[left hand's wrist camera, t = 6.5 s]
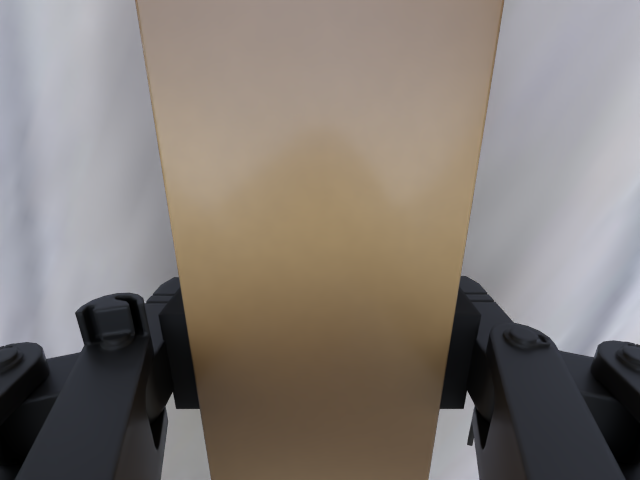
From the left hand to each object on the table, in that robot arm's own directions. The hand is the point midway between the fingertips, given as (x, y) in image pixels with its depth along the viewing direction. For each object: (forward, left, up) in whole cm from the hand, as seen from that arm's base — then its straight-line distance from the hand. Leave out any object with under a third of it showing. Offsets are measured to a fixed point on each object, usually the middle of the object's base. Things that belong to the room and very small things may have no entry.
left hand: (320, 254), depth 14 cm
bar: (-4, +35, 0) cm, 35 cm away
